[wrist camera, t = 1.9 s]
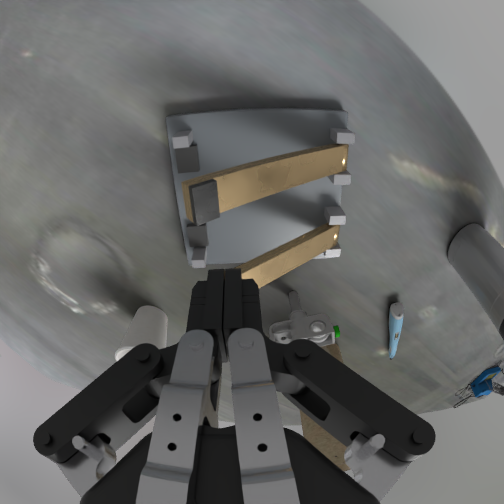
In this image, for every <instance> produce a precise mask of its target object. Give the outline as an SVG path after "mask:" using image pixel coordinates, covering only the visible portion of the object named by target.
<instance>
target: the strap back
mask: <svg viewBox="0 0 504 504" xmlns="http://www.w3.org/2000/svg"><path fill="white" fill-rule="evenodd" d="M339 228H340V225H329V223H326V224H324V225H322V226H320V227H318V228H316V229H313V230H311V231H309V232H307V233H305V234H303V235H301V236H299V237H297V238H295V239H293V240H291V241H289V242H287V243H285V244H283V245H281V246H279V247H277V248H274V249H272V250H270V251H268V252H266V253H264V254H262V255H260V256H258V257H256V258H254V259H252V260H250V261H248V262H246V263H244V264H241V265H239V266H237V267H235V268H241V273H242V279H254V281H255V282H256V283H257V285H258V288H261V287H262V286H264V285H266V284H268V283H270V282H271V281H273V280H275V279H277V278H279V277H280V276H282V275H284V274H286V273H288V272H289V271H291V270H293V269H295V268H296V267H298V266H300V265H302V264H304V263H305V262H307V261H309V260H311V259H312V258H314V257H316V256H318V255H319V254H321V253H323V252H324V251H326V250H328V249H330V248H331V247H333V246H336V245H337V242H338V235H339Z"/></svg>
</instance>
